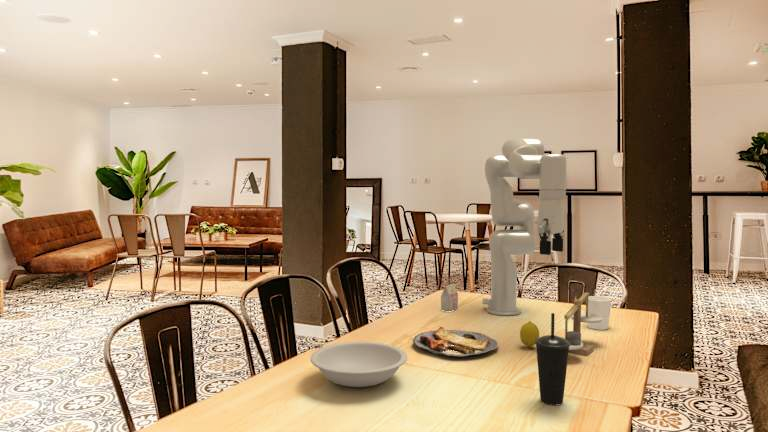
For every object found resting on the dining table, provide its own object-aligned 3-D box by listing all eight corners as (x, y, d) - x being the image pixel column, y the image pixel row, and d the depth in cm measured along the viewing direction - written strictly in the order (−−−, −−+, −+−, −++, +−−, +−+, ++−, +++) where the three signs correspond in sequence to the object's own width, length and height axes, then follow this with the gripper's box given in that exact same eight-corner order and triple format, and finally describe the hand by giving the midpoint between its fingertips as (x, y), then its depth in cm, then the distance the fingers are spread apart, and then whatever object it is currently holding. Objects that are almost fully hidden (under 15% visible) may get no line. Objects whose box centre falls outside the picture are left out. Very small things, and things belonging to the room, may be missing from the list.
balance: (544, 359, 148) (544, 303, 147) (576, 337, 169) (577, 288, 168) (576, 365, 142) (577, 307, 141) (605, 342, 163) (607, 291, 162)
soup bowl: (373, 409, 115) (373, 380, 115) (290, 387, 128) (289, 360, 127) (424, 375, 135) (424, 350, 135) (348, 359, 148) (348, 336, 148)
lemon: (539, 345, 160) (539, 319, 160) (538, 351, 155) (538, 324, 154) (520, 344, 162) (520, 318, 161) (519, 349, 157) (519, 322, 156)
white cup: (606, 324, 184) (606, 296, 184) (613, 330, 176) (614, 301, 176) (582, 324, 185) (583, 295, 184) (589, 330, 177) (589, 300, 177)
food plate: (398, 346, 159) (398, 335, 159) (444, 331, 176) (444, 321, 176) (467, 368, 143) (468, 355, 142) (511, 349, 160) (511, 338, 159)
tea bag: (440, 311, 204) (441, 285, 204) (449, 307, 210) (449, 283, 209) (449, 312, 202) (449, 286, 202) (457, 309, 208) (458, 284, 207)
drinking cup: (528, 394, 123) (530, 309, 122) (560, 393, 123) (562, 309, 122) (541, 408, 115) (542, 318, 114) (575, 407, 116) (577, 317, 115)
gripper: (551, 195, 167) (550, 249, 168) (528, 196, 153) (527, 254, 154) (575, 195, 162) (574, 250, 163) (553, 196, 149) (552, 256, 150)
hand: (551, 252), depth 159 cm, fingers open, 9 cm apart
